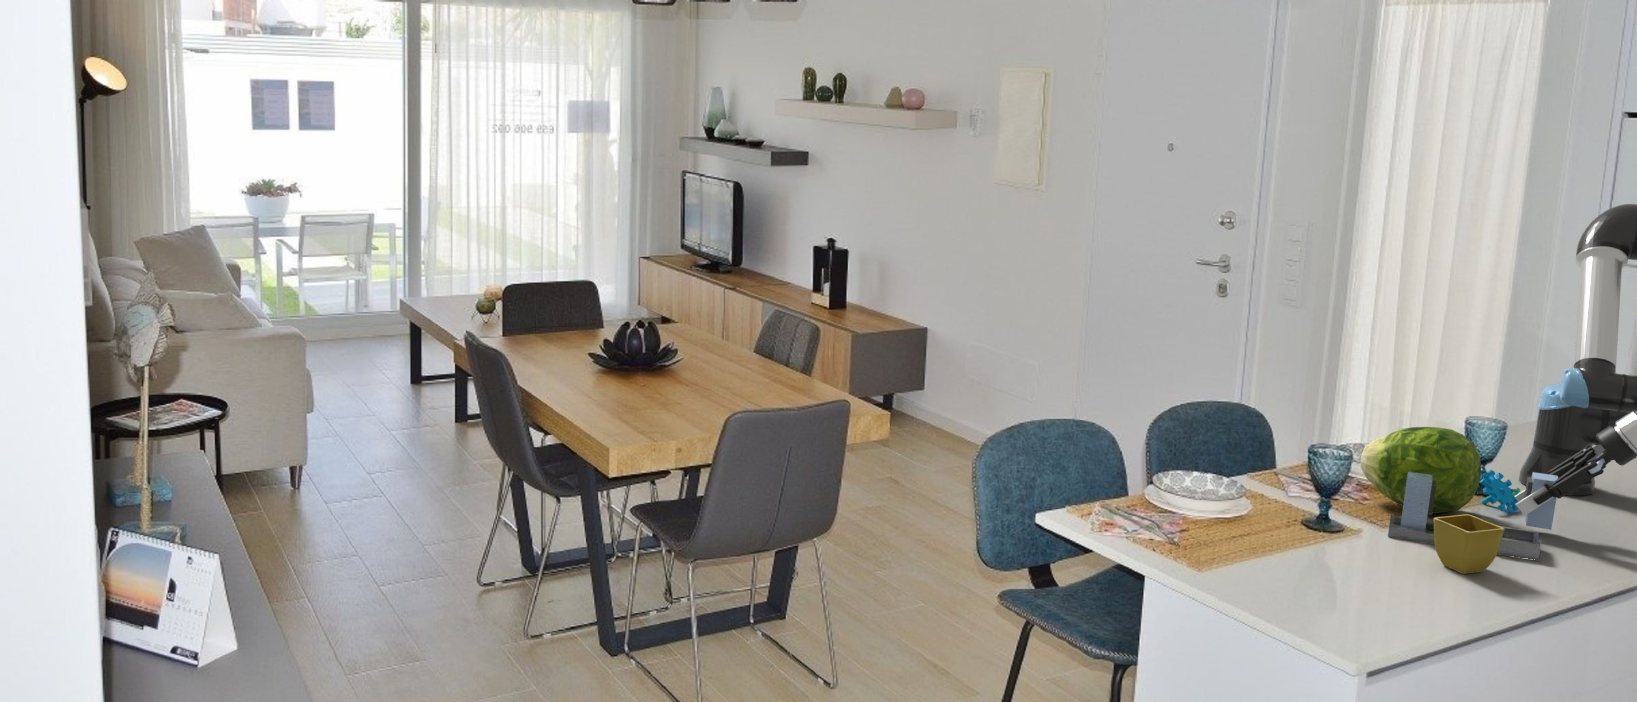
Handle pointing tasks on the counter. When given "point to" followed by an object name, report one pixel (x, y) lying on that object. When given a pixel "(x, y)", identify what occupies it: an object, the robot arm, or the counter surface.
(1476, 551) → the flower pot
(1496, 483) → the blue splash shape
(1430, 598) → the counter surface
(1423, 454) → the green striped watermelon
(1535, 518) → the blue block
